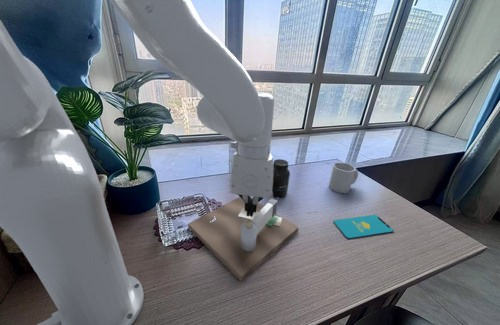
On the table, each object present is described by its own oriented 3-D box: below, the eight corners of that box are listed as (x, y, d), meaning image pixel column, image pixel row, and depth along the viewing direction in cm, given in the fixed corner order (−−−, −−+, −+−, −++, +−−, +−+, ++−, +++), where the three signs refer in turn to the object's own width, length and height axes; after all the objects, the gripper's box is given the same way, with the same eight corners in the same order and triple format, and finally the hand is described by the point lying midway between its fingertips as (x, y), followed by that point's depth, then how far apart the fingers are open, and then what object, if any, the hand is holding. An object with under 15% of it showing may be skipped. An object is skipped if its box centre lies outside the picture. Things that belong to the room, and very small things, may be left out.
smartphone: (332, 219, 62) (376, 213, 65) (331, 221, 62) (375, 215, 65) (347, 238, 55) (395, 231, 58) (346, 241, 56) (394, 233, 59)
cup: (325, 183, 81) (329, 162, 77) (348, 181, 83) (353, 161, 79) (335, 194, 75) (341, 172, 71) (360, 192, 77) (367, 170, 73)
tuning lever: (250, 254, 48) (251, 230, 45) (237, 247, 50) (238, 224, 47) (278, 219, 59) (280, 198, 56) (266, 214, 61) (268, 194, 58)
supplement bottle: (282, 201, 70) (286, 168, 65) (264, 194, 73) (266, 163, 68) (290, 191, 75) (294, 161, 70) (272, 185, 78) (275, 156, 73)
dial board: (240, 281, 44) (240, 275, 43) (188, 227, 57) (187, 222, 56) (297, 231, 58) (298, 226, 57) (244, 197, 71) (244, 193, 70)
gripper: (216, 151, 46) (219, 218, 54) (286, 159, 44) (278, 227, 52) (226, 140, 52) (226, 201, 60) (286, 146, 50) (279, 208, 58)
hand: (250, 213), depth 56 cm, fingers closed
